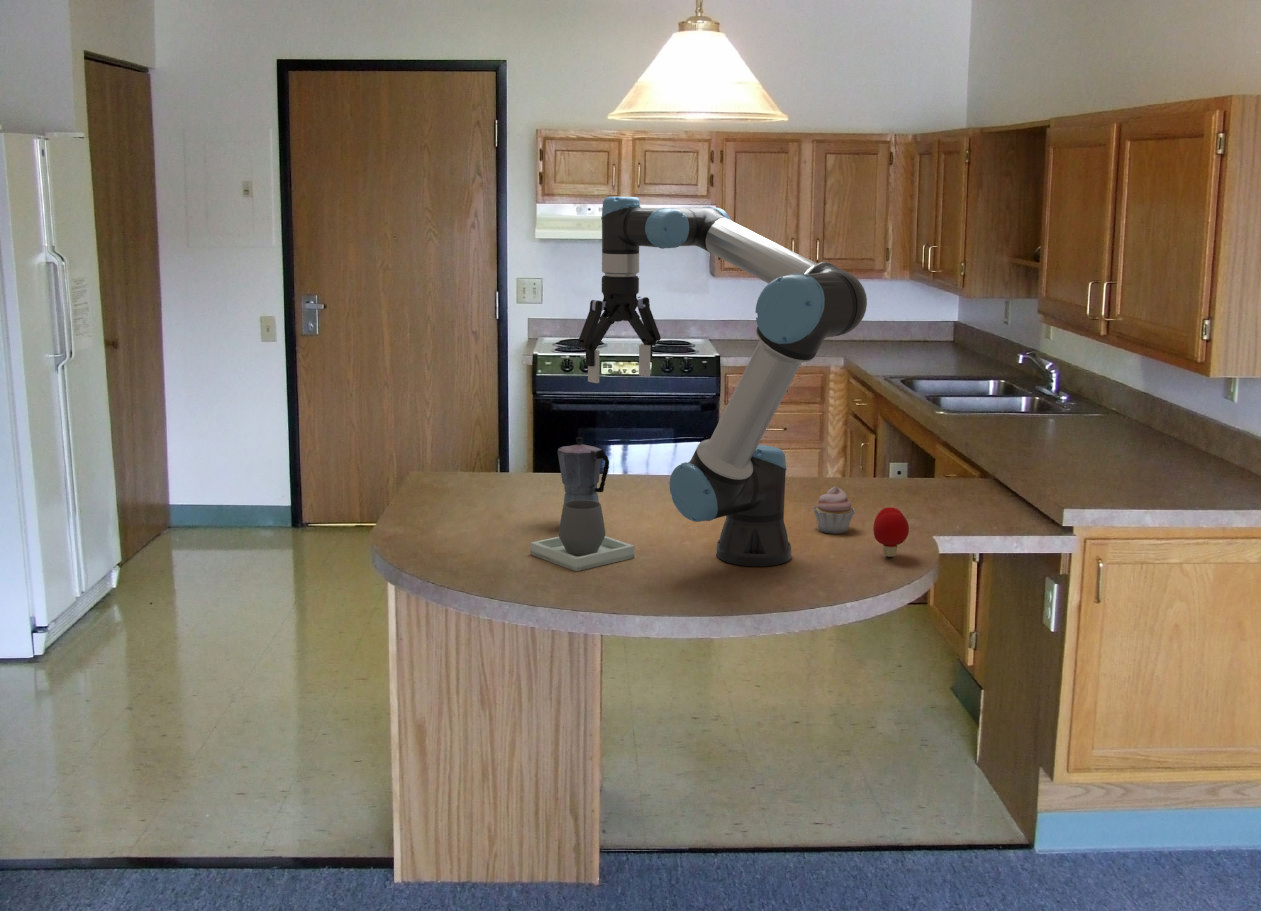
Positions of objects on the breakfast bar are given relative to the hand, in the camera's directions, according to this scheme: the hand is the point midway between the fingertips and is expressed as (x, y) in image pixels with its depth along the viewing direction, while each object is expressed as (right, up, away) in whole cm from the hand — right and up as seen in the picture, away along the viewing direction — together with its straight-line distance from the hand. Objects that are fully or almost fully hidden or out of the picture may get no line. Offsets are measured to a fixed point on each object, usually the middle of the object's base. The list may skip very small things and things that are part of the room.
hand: (619, 379), depth 269 cm
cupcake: (+47, -32, +19) cm, 60 cm away
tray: (-7, -36, -2) cm, 37 cm away
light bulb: (+55, -37, -1) cm, 66 cm away
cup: (-8, -35, -3) cm, 36 cm away
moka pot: (-8, -32, +19) cm, 38 cm away
